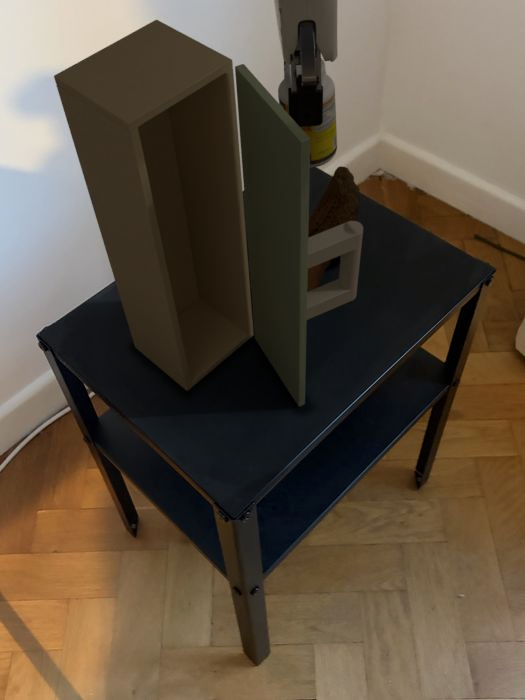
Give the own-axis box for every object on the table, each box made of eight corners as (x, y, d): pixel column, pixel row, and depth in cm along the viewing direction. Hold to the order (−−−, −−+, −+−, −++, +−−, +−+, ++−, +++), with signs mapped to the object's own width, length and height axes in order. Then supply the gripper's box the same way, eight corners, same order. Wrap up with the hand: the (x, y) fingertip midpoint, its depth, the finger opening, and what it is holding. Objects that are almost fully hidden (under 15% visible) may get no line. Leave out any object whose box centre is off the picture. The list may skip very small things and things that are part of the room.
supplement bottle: (274, 153, 78) (263, 65, 70) (316, 131, 79) (310, 42, 71) (305, 178, 75) (297, 88, 67) (348, 155, 76) (345, 65, 68)
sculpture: (380, 178, 72) (256, 248, 68) (392, 264, 79) (280, 332, 74) (331, 157, 78) (214, 220, 74) (346, 238, 85) (240, 300, 80)
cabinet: (253, 335, 75) (232, 59, 50) (187, 391, 72) (127, 123, 46) (201, 295, 79) (156, 18, 54) (134, 347, 75) (53, 75, 50)
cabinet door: (309, 315, 77) (317, 39, 51) (356, 380, 72) (390, 109, 46) (254, 338, 75) (234, 66, 50) (298, 407, 70) (300, 142, 45)
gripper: (362, -46, 53) (351, 157, 67) (336, -139, 63) (331, 54, 77) (259, -38, 53) (270, 163, 67) (249, -132, 63) (261, 60, 78)
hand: (303, 103), depth 72 cm, fingers closed on supplement bottle, 5 cm apart
